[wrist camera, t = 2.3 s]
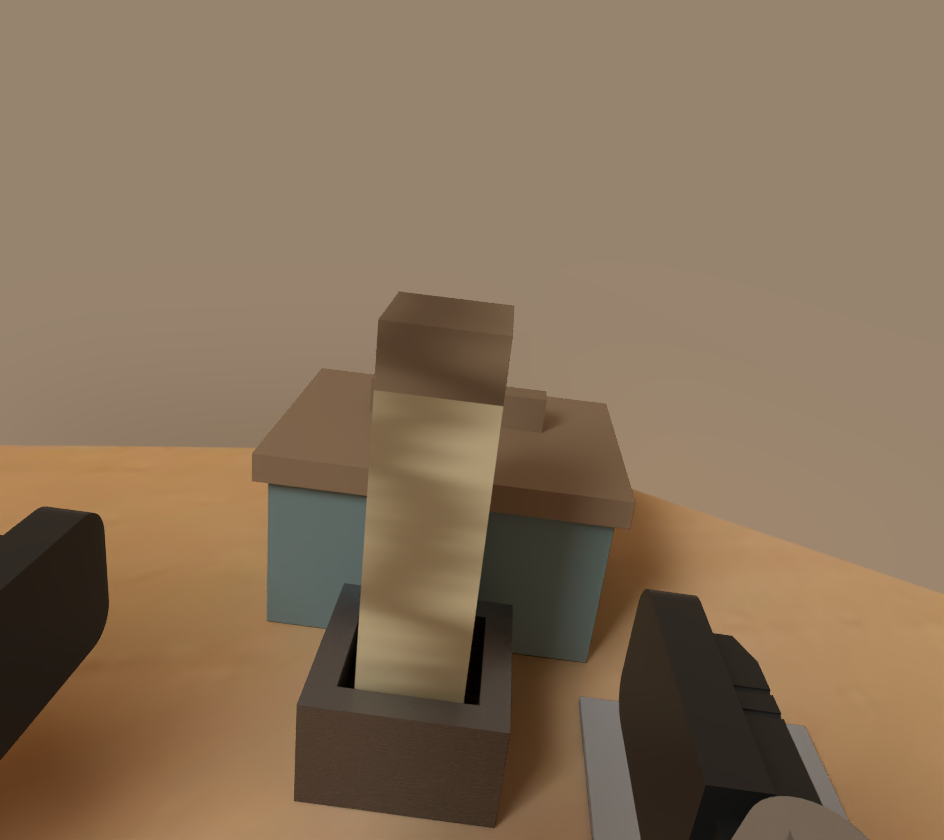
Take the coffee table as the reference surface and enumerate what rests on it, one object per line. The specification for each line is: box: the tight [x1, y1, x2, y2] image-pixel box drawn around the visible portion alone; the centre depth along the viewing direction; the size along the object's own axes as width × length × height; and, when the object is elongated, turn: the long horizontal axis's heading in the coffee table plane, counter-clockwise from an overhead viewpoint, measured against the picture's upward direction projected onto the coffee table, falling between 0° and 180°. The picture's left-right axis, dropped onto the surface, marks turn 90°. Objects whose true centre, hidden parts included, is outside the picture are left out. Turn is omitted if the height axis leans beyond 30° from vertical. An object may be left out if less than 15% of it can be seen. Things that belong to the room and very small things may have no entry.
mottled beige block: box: [355, 292, 514, 703], centre depth 25 cm, size 4×4×16 cm
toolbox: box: [252, 368, 635, 662], centre depth 36 cm, size 15×11×10 cm
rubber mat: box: [579, 697, 849, 840], centre depth 26 cm, size 9×9×1 cm
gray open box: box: [294, 583, 513, 828], centre depth 27 cm, size 7×7×4 cm
